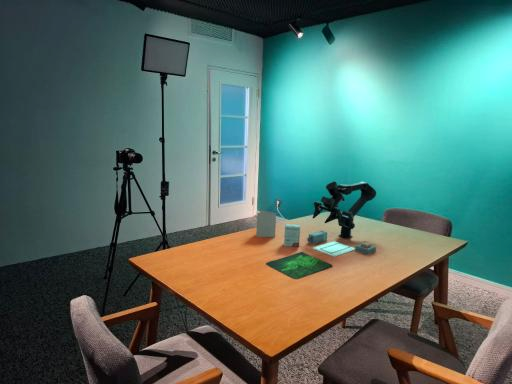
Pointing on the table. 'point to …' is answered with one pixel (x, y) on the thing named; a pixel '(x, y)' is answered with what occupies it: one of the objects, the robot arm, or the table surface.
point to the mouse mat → (299, 265)
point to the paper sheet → (334, 248)
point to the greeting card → (266, 224)
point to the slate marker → (317, 237)
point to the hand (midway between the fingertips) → (318, 220)
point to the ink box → (292, 235)
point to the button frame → (365, 249)
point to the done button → (366, 244)
